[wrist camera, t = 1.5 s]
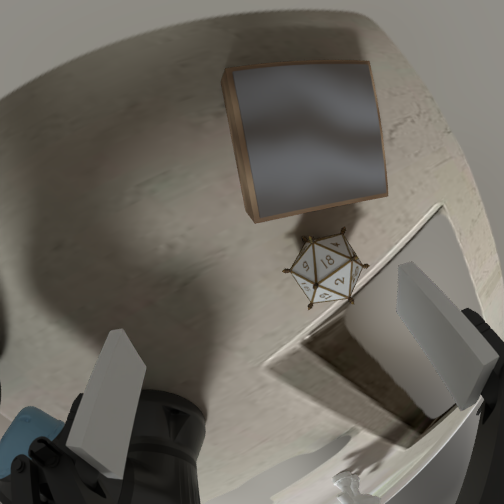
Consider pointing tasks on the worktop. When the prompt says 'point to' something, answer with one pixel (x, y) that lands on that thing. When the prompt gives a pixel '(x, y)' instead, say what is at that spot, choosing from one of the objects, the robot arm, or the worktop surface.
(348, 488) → the robot toy
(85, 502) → the robot arm
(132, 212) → the worktop surface
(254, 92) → the walnut framed square mirror
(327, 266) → the game die
